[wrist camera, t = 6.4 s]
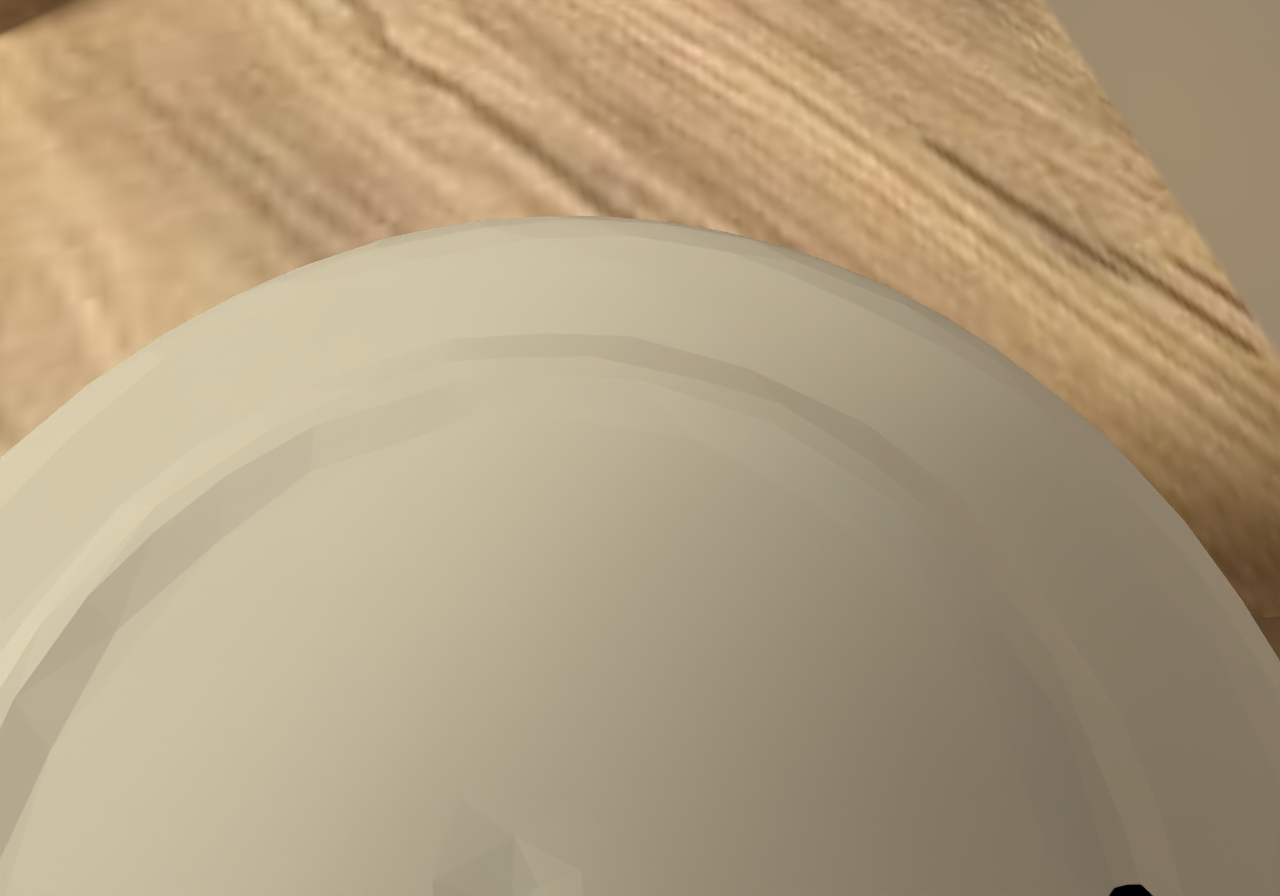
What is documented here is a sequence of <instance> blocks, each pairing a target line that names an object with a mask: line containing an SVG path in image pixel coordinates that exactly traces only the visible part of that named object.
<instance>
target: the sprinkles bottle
mask: <svg viewBox="0 0 1280 896" xmlns="http://www.w3.org/2000/svg"><path fill="white" fill-rule="evenodd" d="M0 896H1280V660H1279V659H1278V657H1277V655H1276V654H1275V652H1274V651H1273V649H1272V647H1271V646H1270V644H1269V643H1268V641H1267V639H1266V638H1265V636H1264V635H1263V633H1262V631H1261V630H1260V628H1259V627H1258V625H1257V623H1256V622H1255V620H1254V619H1253V617H1252V615H1251V614H1250V612H1249V611H1248V609H1247V607H1246V606H1245V604H1244V603H1243V601H1242V599H1241V598H1240V597H1239V595H1238V594H1237V592H1236V591H1235V590H1234V588H1233V587H1232V586H1231V584H1230V583H1229V581H1228V580H1227V579H1226V577H1225V576H1224V575H1223V573H1222V572H1221V570H1220V569H1219V568H1218V566H1217V565H1216V564H1215V562H1214V561H1213V559H1212V558H1211V557H1210V555H1209V554H1208V553H1207V551H1206V550H1205V548H1204V547H1203V546H1202V544H1201V543H1200V541H1199V540H1198V539H1197V537H1196V536H1195V535H1194V533H1193V532H1192V530H1191V529H1190V528H1189V526H1188V525H1187V524H1186V522H1185V521H1184V520H1183V519H1182V518H1181V517H1180V515H1179V514H1178V513H1177V512H1176V511H1175V510H1174V509H1173V508H1172V507H1171V506H1170V505H1169V503H1168V502H1167V501H1166V500H1165V499H1164V498H1163V497H1162V496H1161V495H1160V494H1159V493H1158V491H1157V490H1156V489H1155V488H1154V487H1153V486H1152V485H1151V484H1150V483H1149V482H1148V481H1147V479H1146V478H1145V477H1144V476H1143V475H1142V474H1141V473H1140V472H1139V471H1138V470H1137V469H1136V467H1135V466H1134V465H1133V464H1132V463H1131V462H1130V461H1129V460H1128V459H1127V458H1126V457H1125V456H1124V454H1123V453H1122V452H1121V451H1120V450H1119V449H1118V448H1117V447H1116V446H1115V445H1114V444H1113V442H1112V441H1111V440H1110V439H1109V438H1108V437H1106V436H1105V435H1104V434H1103V433H1102V432H1100V431H1099V430H1098V429H1097V428H1096V427H1094V426H1093V425H1092V424H1091V423H1090V422H1088V421H1087V420H1086V419H1085V418H1084V417H1082V416H1081V415H1080V414H1079V413H1078V412H1076V411H1075V410H1074V409H1073V408H1071V407H1070V406H1069V405H1068V404H1066V403H1065V402H1064V401H1063V400H1062V399H1060V398H1059V397H1058V396H1057V395H1055V394H1054V393H1053V392H1052V391H1050V390H1049V389H1048V388H1047V387H1045V386H1044V385H1043V384H1042V383H1040V382H1039V381H1038V380H1037V379H1035V378H1034V377H1033V376H1031V375H1030V374H1029V373H1027V372H1026V371H1025V370H1023V369H1022V368H1021V367H1019V366H1018V365H1017V364H1015V363H1014V362H1013V361H1011V360H1010V359H1009V358H1007V357H1006V356H1005V355H1003V354H1002V353H1001V352H999V351H998V350H996V349H995V348H993V347H992V346H990V345H989V344H987V343H986V342H985V341H983V340H981V339H980V338H978V337H977V336H975V335H974V334H972V333H970V332H969V331H967V330H966V329H964V328H962V327H961V326H959V325H958V324H956V323H954V322H953V321H951V320H950V319H948V318H947V317H945V316H943V315H941V314H939V313H937V312H935V311H933V310H931V309H930V308H928V307H926V306H924V305H922V304H920V303H918V302H916V301H914V300H913V299H911V298H909V297H907V296H905V295H903V294H901V293H899V292H897V291H894V290H892V289H890V288H888V287H886V286H884V285H882V284H880V283H877V282H875V281H873V280H871V279H869V278H867V277H865V276H862V275H860V274H857V273H855V272H852V271H850V270H847V269H844V268H842V267H839V266H836V265H834V264H831V263H828V262H826V261H823V260H820V259H818V258H815V257H812V256H810V255H807V254H804V253H802V252H799V251H796V250H793V249H789V248H786V247H782V246H778V245H774V244H770V243H766V242H763V241H759V240H755V239H751V238H747V237H743V236H740V235H736V234H732V233H728V232H722V231H717V230H711V229H706V228H700V227H694V226H689V225H683V224H678V223H672V222H664V221H652V220H640V219H628V218H616V217H604V216H568V217H527V218H507V219H487V220H481V221H475V222H469V223H463V224H457V225H452V226H446V227H440V228H435V229H430V230H425V231H419V232H414V233H409V234H404V235H400V236H396V237H391V238H387V239H383V240H379V241H376V242H373V243H370V244H367V245H364V246H361V247H358V248H355V249H352V250H349V251H346V252H343V253H340V254H338V255H335V256H332V257H329V258H326V259H323V260H320V261H317V262H314V263H311V264H308V265H305V266H303V267H300V268H298V269H295V270H293V271H290V272H288V273H285V274H282V275H280V276H278V277H275V278H273V279H271V280H269V281H266V282H264V283H262V284H260V285H257V286H255V287H253V288H251V289H248V290H246V291H244V292H242V293H239V294H237V295H235V296H233V297H230V298H229V299H227V300H225V301H223V302H221V303H219V304H218V305H216V306H214V307H212V308H210V309H208V310H207V311H205V312H203V313H201V314H199V315H197V316H195V317H194V318H192V319H190V320H188V321H186V322H184V323H183V324H181V325H179V326H177V327H175V328H173V329H172V330H170V331H168V332H166V333H165V334H163V335H162V336H160V337H159V338H157V339H156V340H154V341H153V342H151V343H150V344H148V345H147V346H145V347H143V348H142V349H140V350H139V351H137V352H136V353H134V354H133V355H131V356H130V357H128V358H127V359H125V360H124V361H122V362H121V363H119V364H118V365H116V366H115V367H113V368H112V369H110V370H109V371H107V372H106V373H104V374H103V375H101V376H100V377H98V378H97V379H95V380H94V381H92V382H91V383H89V384H88V385H87V386H85V387H84V388H83V389H82V390H81V391H79V392H78V393H77V394H76V395H75V396H73V397H72V398H71V399H70V400H69V401H67V402H66V403H65V404H64V405H63V406H61V407H60V408H59V409H58V410H57V411H56V412H54V413H53V414H52V415H51V416H50V417H48V418H47V419H46V420H45V421H44V422H42V423H41V424H40V425H39V426H38V427H36V428H35V429H34V430H33V431H32V432H30V433H29V434H28V435H27V436H26V437H25V438H23V439H22V440H21V441H20V442H19V443H17V444H16V445H15V446H14V447H13V448H11V449H10V450H9V451H8V452H7V453H5V454H4V455H3V456H2V457H1V458H0Z"/></svg>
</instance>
